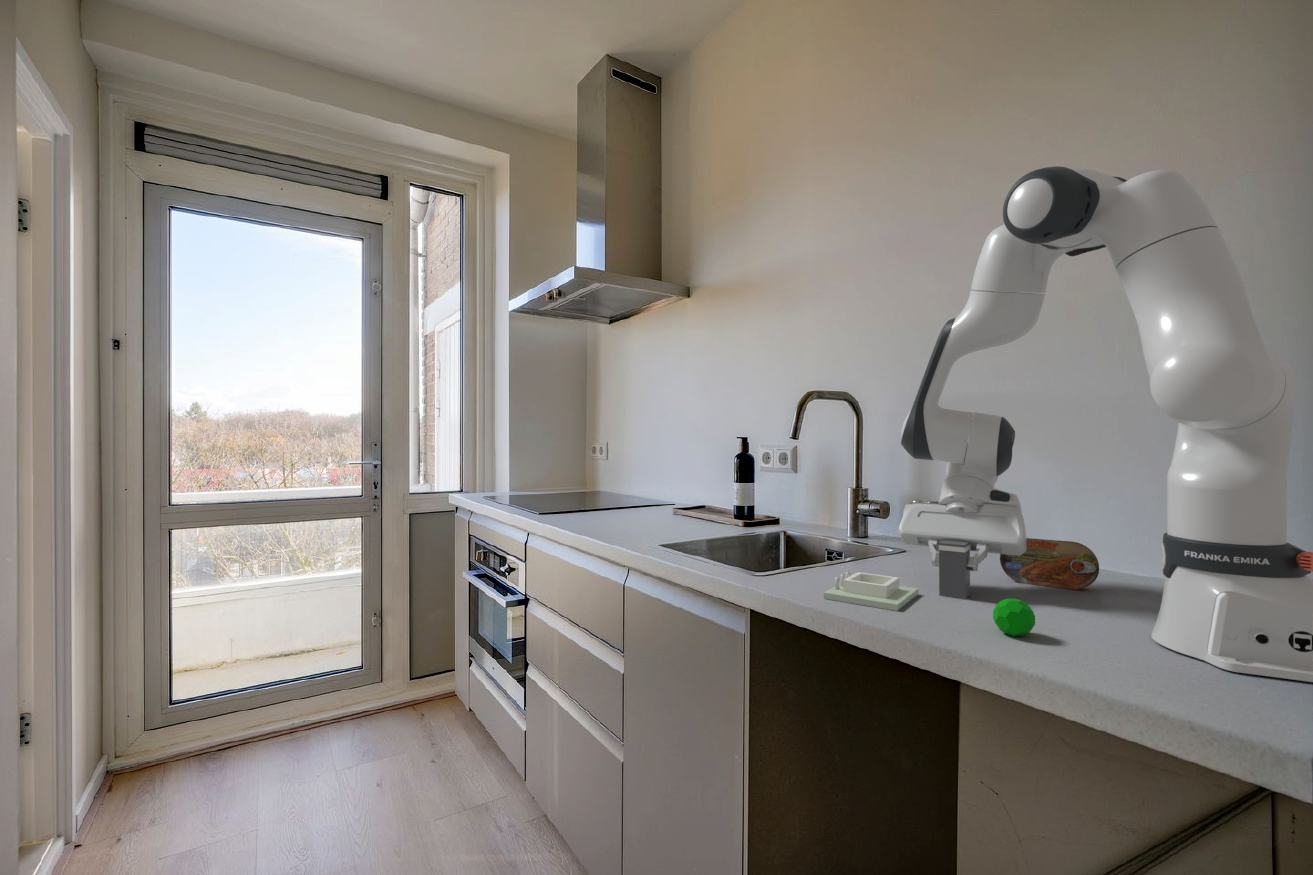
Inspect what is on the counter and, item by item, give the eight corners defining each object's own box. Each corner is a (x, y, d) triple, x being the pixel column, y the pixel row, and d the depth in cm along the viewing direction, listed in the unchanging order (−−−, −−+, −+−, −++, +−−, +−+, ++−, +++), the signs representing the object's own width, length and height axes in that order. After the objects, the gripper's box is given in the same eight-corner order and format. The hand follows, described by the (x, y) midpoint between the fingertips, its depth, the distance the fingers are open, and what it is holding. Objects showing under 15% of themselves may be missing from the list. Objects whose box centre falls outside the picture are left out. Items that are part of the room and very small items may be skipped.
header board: (918, 594, 104) (918, 576, 104) (897, 611, 94) (897, 591, 94) (849, 583, 111) (849, 567, 111) (823, 598, 102) (823, 580, 102)
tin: (999, 580, 113) (999, 535, 113) (1002, 577, 115) (1002, 533, 115) (1099, 593, 103) (1098, 544, 103) (1100, 589, 106) (1100, 542, 106)
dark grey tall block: (970, 593, 104) (970, 541, 104) (965, 599, 100) (965, 545, 100) (944, 590, 106) (944, 539, 106) (938, 595, 103) (938, 542, 103)
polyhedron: (1000, 626, 87) (1000, 593, 87) (1039, 634, 83) (1039, 599, 83) (988, 634, 83) (987, 599, 83) (1028, 643, 80) (1028, 607, 80)
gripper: (903, 489, 115) (887, 548, 107) (1028, 495, 102) (1020, 563, 95) (909, 510, 119) (895, 569, 111) (1031, 518, 106) (1024, 585, 98)
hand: (953, 566), depth 103 cm, fingers closed on dark grey tall block, 4 cm apart
